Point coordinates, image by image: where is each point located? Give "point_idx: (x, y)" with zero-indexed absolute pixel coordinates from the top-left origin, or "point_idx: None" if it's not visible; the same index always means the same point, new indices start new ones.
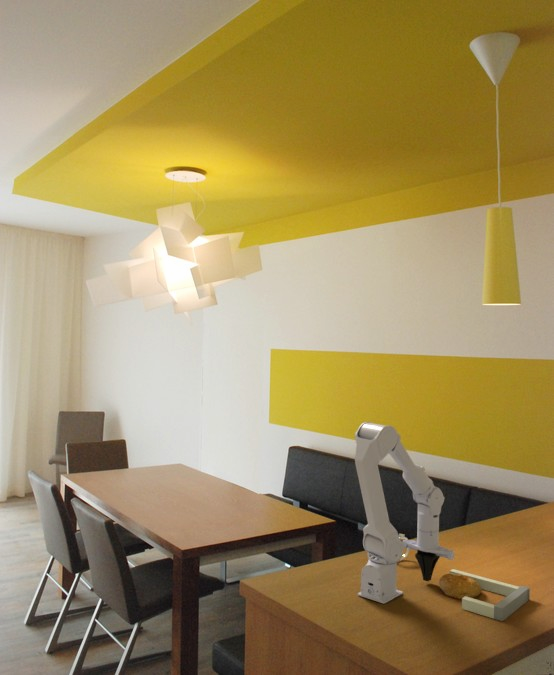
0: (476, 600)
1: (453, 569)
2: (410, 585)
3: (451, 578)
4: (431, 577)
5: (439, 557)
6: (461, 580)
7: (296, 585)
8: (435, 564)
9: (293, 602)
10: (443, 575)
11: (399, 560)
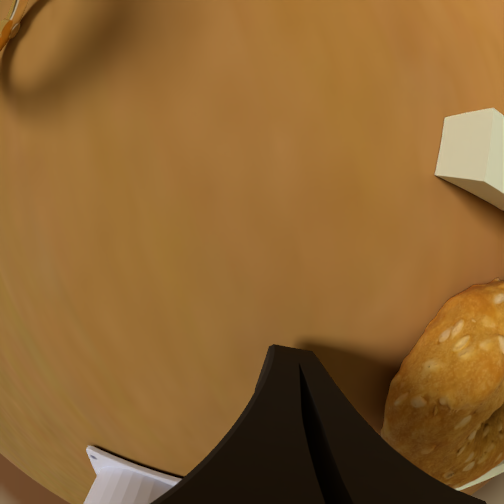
0: (484, 474)
1: (500, 120)
2: (193, 413)
3: (454, 488)
4: (319, 361)
5: (473, 500)
6: (495, 466)
7: (5, 442)
8: (390, 453)
9: (66, 497)
10: (429, 442)
11: (10, 37)
